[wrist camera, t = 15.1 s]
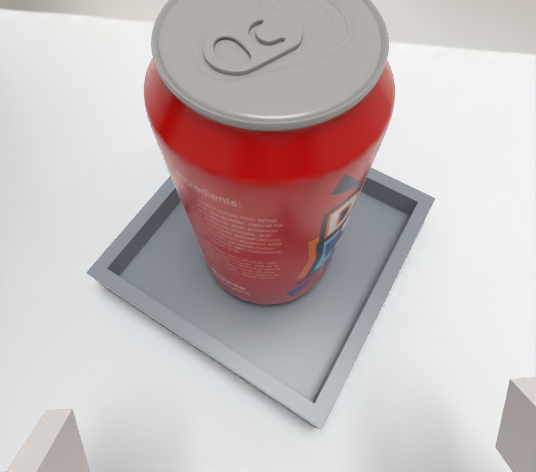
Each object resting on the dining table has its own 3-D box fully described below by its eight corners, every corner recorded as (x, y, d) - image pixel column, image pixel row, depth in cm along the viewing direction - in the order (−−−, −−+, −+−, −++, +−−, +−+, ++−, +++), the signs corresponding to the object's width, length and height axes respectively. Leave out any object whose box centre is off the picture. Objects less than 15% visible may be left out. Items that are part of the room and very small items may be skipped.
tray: (103, 286, 24) (86, 272, 21) (236, 126, 29) (234, 102, 27) (315, 427, 20) (321, 429, 18) (420, 217, 26) (435, 198, 23)
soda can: (182, 236, 24) (74, 7, 11) (279, 175, 26) (294, -82, 13) (252, 336, 21) (230, 204, 8) (355, 260, 23) (479, 51, 10)
